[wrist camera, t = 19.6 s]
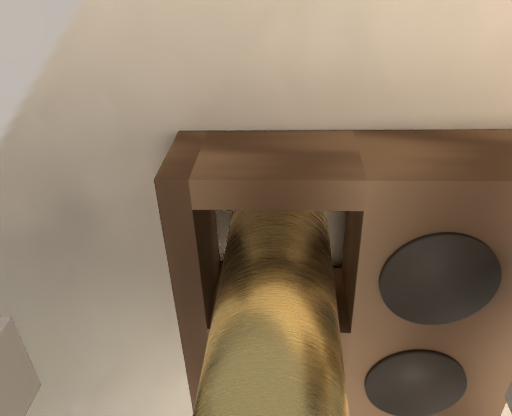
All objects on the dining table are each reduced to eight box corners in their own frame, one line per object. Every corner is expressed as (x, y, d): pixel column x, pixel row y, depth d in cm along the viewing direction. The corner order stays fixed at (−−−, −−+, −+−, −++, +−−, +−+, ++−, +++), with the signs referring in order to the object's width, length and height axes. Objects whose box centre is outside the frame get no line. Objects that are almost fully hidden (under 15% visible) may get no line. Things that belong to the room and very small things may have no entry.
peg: (233, 252, 19) (166, 638, 9) (232, 174, 17) (145, 554, 7) (322, 257, 19) (356, 656, 9) (331, 178, 17) (387, 574, 7)
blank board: (208, 361, 23) (195, 433, 20) (178, 131, 16) (152, 183, 13) (463, 369, 22) (491, 446, 19) (537, 129, 15) (599, 185, 12)
